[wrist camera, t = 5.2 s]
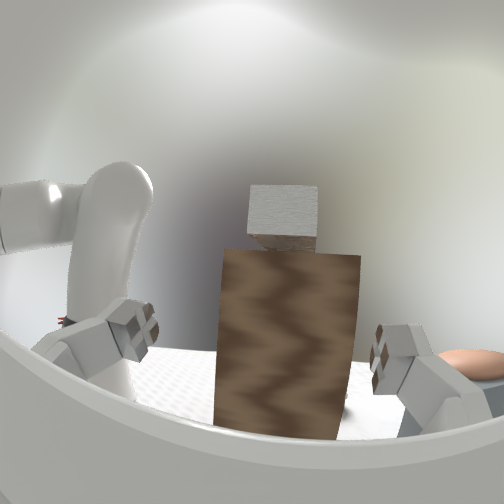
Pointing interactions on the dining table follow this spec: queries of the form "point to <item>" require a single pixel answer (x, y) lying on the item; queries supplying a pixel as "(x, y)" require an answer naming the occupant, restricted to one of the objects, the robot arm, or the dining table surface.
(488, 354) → the low block
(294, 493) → the robot arm
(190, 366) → the dining table surface
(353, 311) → the stand
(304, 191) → the white bar
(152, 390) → the dining table surface
